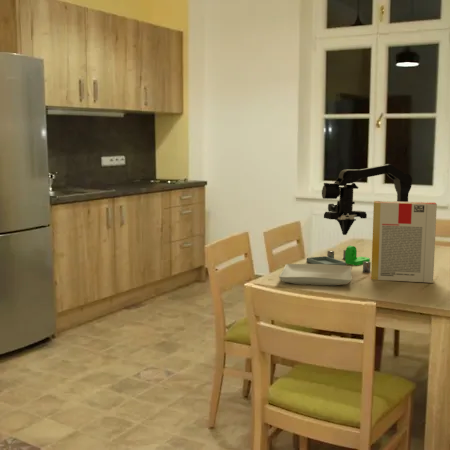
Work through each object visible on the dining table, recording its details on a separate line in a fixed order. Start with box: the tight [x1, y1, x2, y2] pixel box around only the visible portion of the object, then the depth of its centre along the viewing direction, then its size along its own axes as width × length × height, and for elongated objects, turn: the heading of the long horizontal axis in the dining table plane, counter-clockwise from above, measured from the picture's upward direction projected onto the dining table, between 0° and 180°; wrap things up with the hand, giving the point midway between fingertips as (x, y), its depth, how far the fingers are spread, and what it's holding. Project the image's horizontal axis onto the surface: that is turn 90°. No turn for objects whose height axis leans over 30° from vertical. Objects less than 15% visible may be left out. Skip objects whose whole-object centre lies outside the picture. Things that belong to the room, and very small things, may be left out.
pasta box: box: [370, 200, 438, 284], centre depth 236 cm, size 23×8×30 cm, turn 75°
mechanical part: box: [344, 245, 371, 266], centre depth 270 cm, size 12×6×8 cm, turn 133°
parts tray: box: [306, 255, 347, 266], centre depth 266 cm, size 10×16×2 cm, turn 24°
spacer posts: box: [326, 249, 372, 273], centre depth 267 cm, size 19×31×4 cm, turn 24°
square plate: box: [278, 263, 353, 286], centre depth 238 cm, size 27×27×4 cm
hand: (344, 234), depth 264 cm, fingers closed
